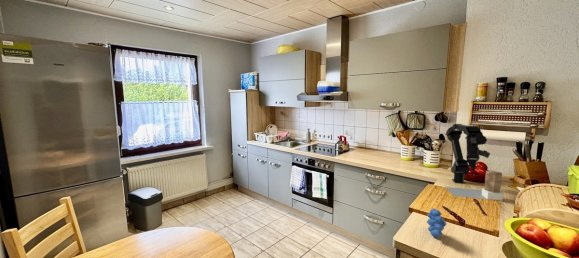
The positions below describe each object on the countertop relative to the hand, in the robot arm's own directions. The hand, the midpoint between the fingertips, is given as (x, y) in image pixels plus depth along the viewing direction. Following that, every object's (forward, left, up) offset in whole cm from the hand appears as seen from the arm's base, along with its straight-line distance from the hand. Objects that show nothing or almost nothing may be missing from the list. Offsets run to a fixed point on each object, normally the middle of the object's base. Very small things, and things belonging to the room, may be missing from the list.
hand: (473, 170), depth 149 cm
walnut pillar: (+11, +6, -8) cm, 15 cm away
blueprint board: (+7, -2, -13) cm, 15 cm away
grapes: (+64, -36, -13) cm, 75 cm away
